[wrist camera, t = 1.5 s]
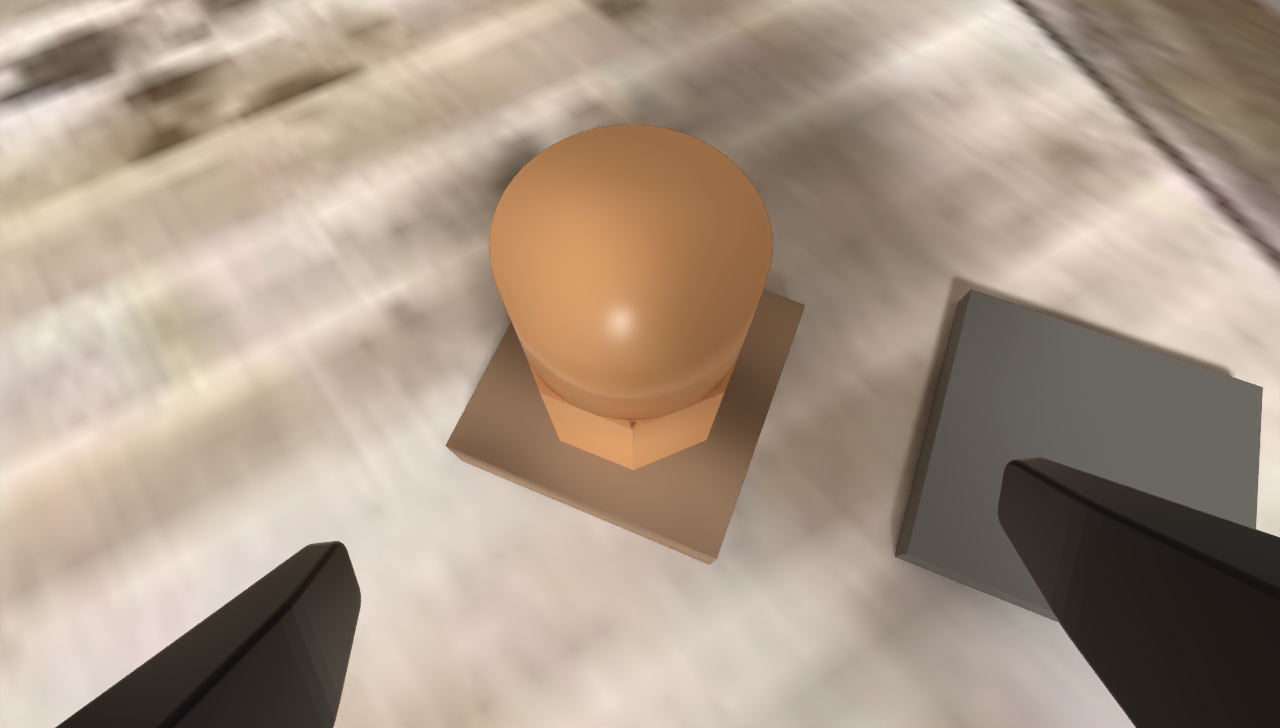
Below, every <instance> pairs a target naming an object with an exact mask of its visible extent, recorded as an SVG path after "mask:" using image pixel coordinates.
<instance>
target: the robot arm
mask: <svg viewBox="0 0 1280 728" xmlns="http://www.w3.org/2000/svg"><path fill="white" fill-rule="evenodd" d="M997 511H998V519H999V522H1000V525H1001V527H1002V529H1003V531H1004V533H1005V534H1006V536H1007V538H1008V539H1009V541H1010V543H1011V544H1012V546H1013V548H1014V549H1015V551H1016V553H1017V554H1018V556H1019V558H1020V559H1021V561H1022V563H1023V564H1024V566H1025V568H1026V569H1027V571H1028V573H1029V574H1030V576H1031V578H1032V579H1033V581H1034V583H1035V584H1036V586H1037V588H1038V589H1039V591H1040V593H1041V594H1042V596H1043V598H1044V599H1045V601H1046V603H1047V604H1048V606H1049V608H1050V609H1051V611H1052V612H1053V614H1054V615H1055V617H1056V619H1057V620H1058V622H1059V623H1060V625H1061V626H1062V628H1063V629H1064V630H1065V632H1066V633H1067V635H1068V636H1069V638H1070V639H1071V640H1072V642H1073V643H1074V644H1075V646H1076V647H1077V649H1078V650H1079V651H1080V653H1081V654H1082V655H1083V657H1084V658H1085V659H1086V661H1087V662H1088V663H1089V665H1090V666H1091V667H1092V669H1093V670H1094V672H1095V673H1096V674H1097V676H1098V677H1099V678H1100V680H1101V681H1102V682H1103V684H1104V685H1105V686H1106V688H1107V689H1108V690H1109V692H1110V693H1111V695H1112V696H1113V697H1114V699H1115V700H1116V701H1117V703H1118V704H1119V705H1120V707H1121V708H1122V709H1123V711H1124V712H1125V713H1126V715H1127V716H1128V718H1129V719H1130V720H1131V722H1132V723H1133V724H1134V726H1135V727H1136V728H1280V537H1277V536H1274V535H1271V534H1268V533H1265V532H1262V531H1259V530H1256V529H1253V528H1250V527H1247V526H1244V525H1241V524H1238V523H1235V522H1232V521H1229V520H1226V519H1223V518H1221V517H1218V516H1215V515H1212V514H1209V513H1206V512H1203V511H1200V510H1197V509H1194V508H1191V507H1188V506H1185V505H1182V504H1179V503H1176V502H1173V501H1170V500H1167V499H1164V498H1161V497H1158V496H1156V495H1153V494H1150V493H1147V492H1144V491H1141V490H1138V489H1135V488H1132V487H1129V486H1126V485H1123V484H1120V483H1117V482H1114V481H1111V480H1108V479H1105V478H1102V477H1099V476H1096V475H1093V474H1091V473H1088V472H1085V471H1082V470H1079V469H1076V468H1073V467H1070V466H1067V465H1064V464H1061V463H1058V462H1055V461H1052V460H1049V459H1046V458H1043V457H1029V458H1021V459H1013V460H1011V461H1009V462H1008V463H1007V465H1006V466H1005V469H1004V473H1003V479H1002V485H1001V490H1000V496H999V502H998V510H997ZM360 606H361V593H360V588H359V585H358V582H357V579H356V576H355V572H354V569H353V566H352V563H351V560H350V557H349V554H348V551H347V549H346V547H345V546H344V544H343V543H341V542H339V541H332V542H324V543H315V544H310V545H307V546H306V547H304V548H303V549H301V550H300V551H299V552H297V553H296V554H294V555H293V556H292V557H290V558H289V559H288V560H286V561H285V562H283V563H282V564H281V565H279V566H278V567H277V568H275V569H274V570H272V571H271V572H270V573H268V574H267V575H265V576H264V577H263V578H261V579H260V580H259V581H257V582H256V583H254V584H253V585H252V586H250V587H249V588H248V589H246V590H245V591H243V592H242V593H241V594H239V595H238V596H236V597H235V598H234V599H232V600H231V601H230V602H228V603H227V604H225V605H224V606H223V607H221V608H220V609H219V610H217V611H216V612H214V613H213V614H212V615H210V616H209V617H207V618H206V619H205V620H203V621H202V622H201V623H199V624H198V625H196V626H195V627H194V628H192V629H191V630H189V631H188V632H187V633H185V634H184V635H183V636H181V637H180V638H178V639H177V640H176V641H174V642H173V643H172V644H170V645H169V646H167V647H166V648H165V649H163V650H162V651H160V652H159V653H158V654H156V655H155V656H154V657H152V658H151V659H149V660H148V661H147V662H145V663H144V664H143V665H141V666H140V667H138V668H137V669H136V670H134V671H133V672H131V673H130V674H129V675H127V676H126V677H125V678H123V679H122V680H120V681H119V682H118V683H116V684H115V685H114V686H112V687H111V688H109V689H108V690H107V691H105V692H104V693H102V694H101V695H100V696H98V697H97V698H96V699H94V700H93V701H91V702H90V703H89V704H87V705H86V706H84V707H83V708H82V709H80V710H79V711H78V712H76V713H75V714H73V715H72V716H71V717H69V718H68V719H67V720H65V721H64V722H62V723H61V724H60V725H58V726H57V727H55V728H333V727H334V724H335V720H336V716H337V712H338V708H339V704H340V700H341V695H342V690H343V686H344V681H345V676H346V672H347V667H348V663H349V658H350V653H351V649H352V644H353V639H354V635H355V630H356V625H357V621H358V616H359V611H360Z"/></svg>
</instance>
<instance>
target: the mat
mask: <svg viewBox="0 0 1280 728" xmlns="http://www.w3.org/2000/svg"><path fill="white" fill-rule="evenodd" d="M1262 391H1263V387H1260V386H1257V385H1254V384H1251V383H1248V382H1245V381H1242V380H1239V379H1236V378H1233V377H1230V376H1228V375H1225V374H1222V373H1219V372H1216V371H1213V370H1210V369H1207V368H1204V367H1201V366H1198V365H1195V364H1192V363H1189V362H1186V361H1183V360H1180V359H1177V358H1174V357H1171V356H1168V355H1165V354H1162V353H1159V352H1156V351H1153V350H1150V349H1147V348H1144V347H1141V346H1138V345H1135V344H1132V343H1129V342H1126V341H1124V340H1121V339H1118V338H1115V337H1112V336H1109V335H1106V334H1103V333H1100V332H1097V331H1094V330H1091V329H1088V328H1085V327H1082V326H1079V325H1076V324H1073V323H1070V322H1067V321H1064V320H1061V319H1058V318H1055V317H1052V316H1049V315H1046V314H1043V313H1040V312H1037V311H1034V310H1031V309H1028V308H1025V307H1022V306H1020V305H1017V304H1014V303H1011V302H1008V301H1005V300H1002V299H999V298H996V297H993V296H990V295H987V294H984V293H981V292H978V291H975V290H972V289H971V290H970V291H969V292H968V293H967V294H966V295H965V296H964V297H963V298H962V299H961V300H960V301H959V303H958V307H957V311H956V315H955V319H954V323H953V327H952V331H951V335H950V339H949V343H948V347H947V351H946V355H945V359H944V363H943V367H942V371H941V375H940V379H939V383H938V387H937V391H936V395H935V399H934V403H933V407H932V411H931V415H930V419H929V423H928V427H927V431H926V436H925V440H924V444H923V448H922V452H921V456H920V460H919V464H918V468H917V472H916V476H915V480H914V484H913V488H912V492H911V496H910V500H909V504H908V508H907V512H906V516H905V520H904V524H903V528H902V532H901V536H900V540H899V544H898V548H897V552H896V556H895V557H897V558H900V559H902V560H905V561H907V562H910V563H912V564H915V565H917V566H920V567H922V568H925V569H927V570H930V571H932V572H935V573H937V574H940V575H942V576H945V577H947V578H950V579H952V580H955V581H957V582H960V583H962V584H965V585H967V586H970V587H972V588H975V589H977V590H980V591H982V592H985V593H987V594H990V595H992V596H995V597H997V598H1000V599H1002V600H1005V601H1007V602H1010V603H1012V604H1015V605H1017V606H1020V607H1022V608H1025V609H1027V610H1030V611H1032V612H1035V613H1037V614H1040V615H1042V616H1045V617H1047V618H1050V619H1052V620H1055V621H1057V622H1058V620H1057V619H1056V617H1055V615H1054V614H1053V612H1052V611H1051V609H1050V608H1049V606H1048V604H1047V603H1046V601H1045V599H1044V598H1043V596H1042V594H1041V593H1040V591H1039V589H1038V588H1037V586H1036V584H1035V583H1034V581H1033V579H1032V578H1031V576H1030V574H1029V573H1028V571H1027V569H1026V568H1025V566H1024V564H1023V563H1022V561H1021V559H1020V558H1019V556H1018V554H1017V553H1016V551H1015V549H1014V548H1013V546H1012V544H1011V543H1010V541H1009V539H1008V538H1007V536H1006V534H1005V533H1004V531H1003V529H1002V527H1001V525H1000V522H999V519H998V511H997V510H998V502H999V496H1000V490H1001V485H1002V479H1003V473H1004V469H1005V466H1006V465H1007V463H1008V462H1009V461H1011V460H1013V459H1021V458H1029V457H1043V458H1046V459H1049V460H1052V461H1055V462H1058V463H1061V464H1064V465H1067V466H1070V467H1073V468H1076V469H1079V470H1082V471H1085V472H1088V473H1091V474H1093V475H1096V476H1099V477H1102V478H1105V479H1108V480H1111V481H1114V482H1117V483H1120V484H1123V485H1126V486H1129V487H1132V488H1135V489H1138V490H1141V491H1144V492H1147V493H1150V494H1153V495H1156V496H1158V497H1161V498H1164V499H1167V500H1170V501H1173V502H1176V503H1179V504H1182V505H1185V506H1188V507H1191V508H1194V509H1197V510H1200V511H1203V512H1206V513H1209V514H1212V515H1215V516H1218V517H1221V518H1223V519H1226V520H1229V521H1232V522H1235V523H1238V524H1241V525H1244V526H1247V527H1250V528H1253V529H1256V515H1257V494H1258V474H1259V453H1260V432H1261V412H1262Z"/></svg>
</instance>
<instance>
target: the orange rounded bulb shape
mask: <svg viewBox="0 0 1280 728" xmlns="http://www.w3.org/2000/svg"><path fill="white" fill-rule="evenodd" d="M489 254H490V262H491V269H492V272H493V275H494V279H495V282H496V285H497V288H498V290H499V292H500V295H501V297H502V300H503V302H504V304H505V307H506V309H507V312H508V314H509V316H510V319H511V321H512V324H513V326H514V328H515V331H516V333H517V335H518V338H519V340H520V343H521V345H522V347H523V350H524V352H525V355H526V358H527V360H528V363H529V365H530V368H531V371H532V373H533V376H534V378H535V381H536V384H537V386H538V389H539V391H540V394H541V397H542V399H543V402H544V404H545V406H546V409H547V411H548V413H549V416H550V418H551V420H552V423H553V425H554V427H555V430H556V432H557V435H558V437H559V439H560V441H562V442H565V443H567V444H570V445H572V446H575V447H577V448H580V449H582V450H585V451H587V452H589V453H592V454H594V455H597V456H599V457H602V458H604V459H607V460H609V461H612V462H614V463H617V464H619V465H622V466H624V467H627V468H629V469H631V470H635V469H638V468H640V467H643V466H645V465H647V464H650V463H652V462H655V461H657V460H659V459H662V458H664V457H667V456H669V455H671V454H674V453H676V452H679V451H681V450H684V449H686V448H688V447H691V446H693V445H696V444H698V443H700V442H703V441H705V440H707V438H708V435H709V432H710V430H711V427H712V424H713V422H714V419H715V416H716V414H717V411H718V409H719V406H720V403H721V401H722V398H723V395H724V393H725V390H726V387H727V385H728V382H729V379H730V377H731V374H732V372H733V369H734V366H735V364H736V361H737V359H738V356H739V353H740V351H741V348H742V345H743V343H744V340H745V337H746V335H747V332H748V330H749V327H750V324H751V322H752V319H753V316H754V314H755V311H756V308H757V305H758V302H759V300H760V297H761V294H762V292H763V289H764V287H765V284H766V281H767V277H768V274H769V271H770V267H771V259H772V232H771V226H770V220H769V217H768V214H767V211H766V208H765V205H764V203H763V201H762V199H761V197H760V195H759V193H758V191H757V190H756V188H755V187H754V185H753V184H752V182H751V181H750V179H749V178H748V177H747V176H746V175H745V174H744V172H743V171H742V170H741V169H740V168H739V167H738V166H737V165H736V164H735V163H734V162H733V161H731V160H730V159H729V158H728V157H727V156H726V155H724V154H723V153H721V152H720V151H718V150H717V149H715V148H714V147H712V146H711V145H709V144H707V143H705V142H703V141H701V140H699V139H697V138H694V137H692V136H689V135H687V134H684V133H681V132H678V131H674V130H670V129H666V128H661V127H655V126H648V125H615V126H608V127H602V128H596V129H592V130H589V131H585V132H581V133H578V134H576V135H573V136H571V137H568V138H565V139H563V140H562V141H560V142H558V143H556V144H554V145H552V146H550V147H549V148H547V149H546V150H544V151H543V152H541V153H540V154H538V155H537V156H536V157H534V158H533V159H532V160H531V161H530V162H529V163H527V164H526V165H525V166H524V167H523V168H522V169H521V170H520V172H519V173H518V174H517V175H516V176H515V177H514V178H513V180H512V181H511V183H510V184H509V186H508V187H507V188H506V190H505V191H504V193H503V195H502V197H501V199H500V201H499V203H498V205H497V208H496V211H495V214H494V217H493V220H492V225H491V231H490V239H489Z"/></svg>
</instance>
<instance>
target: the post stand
mask: <svg viewBox="0 0 1280 728" xmlns="http://www.w3.org/2000/svg"><path fill="white" fill-rule="evenodd" d="M804 306H805V305H803V304H800V303H798V302H795V301H792V300H789V299H786V298H783V297H781V296H778V295H775V294H772V293H769V292H766V291H763V292H762V294H761V297H760V300H759V302H758V305H757V308H756V311H755V314H754V316H753V319H752V322H751V324H750V327H749V330H748V332H747V335H746V337H745V340H744V343H743V345H742V348H741V351H740V353H739V356H738V359H737V361H736V364H735V366H734V369H733V372H732V374H731V377H730V379H729V382H728V385H727V387H726V390H725V393H724V395H723V398H722V401H721V403H720V406H719V409H718V411H717V414H716V416H715V419H714V422H713V424H712V427H711V430H710V432H709V435H708V438H707V440H705V441H703V442H700V443H698V444H696V445H693V446H691V447H688V448H686V449H684V450H681V451H679V452H676V453H674V454H671V455H669V456H667V457H664V458H662V459H659V460H657V461H655V462H652V463H650V464H647V465H645V466H643V467H640V468H638V469H635V470H631V469H629V468H627V467H624V466H622V465H619V464H617V463H614V462H612V461H609V460H607V459H604V458H602V457H599V456H597V455H594V454H592V453H589V452H587V451H585V450H582V449H580V448H577V447H575V446H572V445H570V444H567V443H565V442H562V441H560V439H559V437H558V435H557V432H556V430H555V427H554V425H553V423H552V420H551V418H550V416H549V413H548V411H547V409H546V406H545V404H544V402H543V399H542V397H541V394H540V391H539V389H538V386H537V384H536V381H535V378H534V376H533V373H532V371H531V368H530V365H529V363H528V360H527V358H526V355H525V352H524V350H523V347H522V345H521V343H520V340H519V338H518V335H517V333H516V331H515V328H514V326H513V324H512V322H511V324H510V326H509V328H508V329H507V331H506V333H505V335H504V337H503V339H502V341H501V343H500V344H499V346H498V348H497V350H496V352H495V354H494V356H493V358H492V359H491V361H490V363H489V365H488V367H487V369H486V371H485V373H484V374H483V376H482V378H481V380H480V382H479V384H478V386H477V388H476V389H475V391H474V393H473V395H472V397H471V399H470V401H469V402H468V404H467V406H466V408H465V410H464V412H463V414H462V416H461V417H460V419H459V421H458V423H457V425H456V427H455V429H454V431H453V432H452V434H451V436H450V438H449V440H448V442H447V444H446V446H447V447H448V448H449V449H450V450H451V451H452V452H453V453H454V454H455V455H456V456H457V457H458V458H459V459H461V460H462V461H464V462H466V463H469V464H471V465H474V466H476V467H478V468H481V469H483V470H485V471H488V472H490V473H493V474H495V475H497V476H500V477H502V478H505V479H507V480H509V481H512V482H514V483H517V484H519V485H521V486H524V487H526V488H528V489H531V490H533V491H536V492H538V493H540V494H543V495H545V496H548V497H550V498H552V499H555V500H557V501H560V502H562V503H564V504H567V505H569V506H571V507H574V508H576V509H579V510H581V511H583V512H586V513H588V514H591V515H593V516H595V517H598V518H600V519H602V520H605V521H607V522H610V523H612V524H614V525H617V526H619V527H622V528H624V529H626V530H629V531H631V532H634V533H636V534H638V535H641V536H643V537H645V538H648V539H650V540H653V541H655V542H657V543H660V544H662V545H665V546H667V547H669V548H672V549H674V550H677V551H679V552H681V553H684V554H686V555H688V556H691V557H693V558H696V559H698V560H700V561H703V562H705V563H708V564H711V563H712V562H713V561H714V560H715V559H717V556H718V553H719V550H720V547H721V544H722V542H723V539H724V536H725V533H726V530H727V527H728V524H729V522H730V519H731V516H732V513H733V510H734V507H735V504H736V501H737V499H738V496H739V493H740V490H741V487H742V484H743V481H744V479H745V476H746V473H747V470H748V467H749V464H750V461H751V458H752V456H753V453H754V450H755V447H756V444H757V441H758V438H759V436H760V433H761V430H762V427H763V424H764V421H765V418H766V415H767V413H768V410H769V407H770V404H771V401H772V398H773V395H774V392H775V390H776V387H777V384H778V381H779V378H780V375H781V372H782V370H783V367H784V364H785V361H786V358H787V355H788V352H789V349H790V347H791V344H792V341H793V338H794V335H795V332H796V329H797V327H798V324H799V321H800V318H801V315H802V312H803V309H804Z"/></svg>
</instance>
